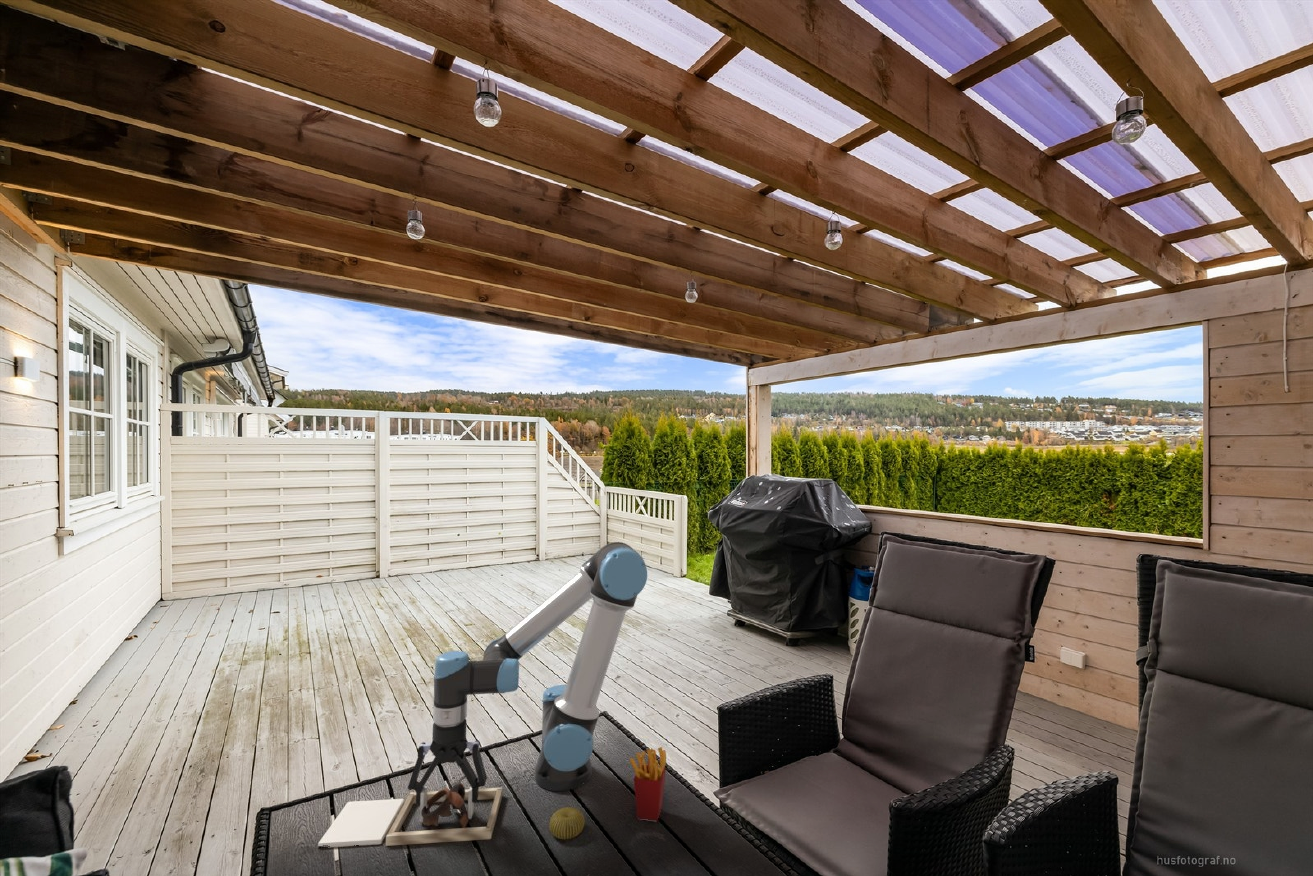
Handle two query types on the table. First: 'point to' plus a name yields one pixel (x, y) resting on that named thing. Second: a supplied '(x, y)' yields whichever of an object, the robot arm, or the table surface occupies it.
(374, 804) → the ceramic tile
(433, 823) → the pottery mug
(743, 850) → the table surface
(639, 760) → the french fries
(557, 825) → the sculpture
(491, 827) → the frame
